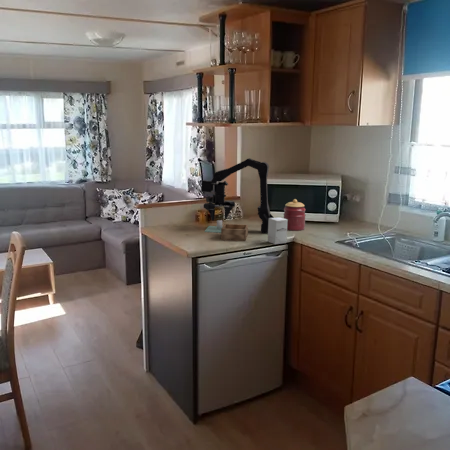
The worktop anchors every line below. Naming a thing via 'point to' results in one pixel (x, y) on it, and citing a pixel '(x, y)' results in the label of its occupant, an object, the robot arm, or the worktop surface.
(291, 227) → the canister
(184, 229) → the worktop surface
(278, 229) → the supplement box
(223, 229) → the box
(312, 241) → the worktop surface
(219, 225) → the lid
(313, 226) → the worktop surface
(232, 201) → the robot arm
